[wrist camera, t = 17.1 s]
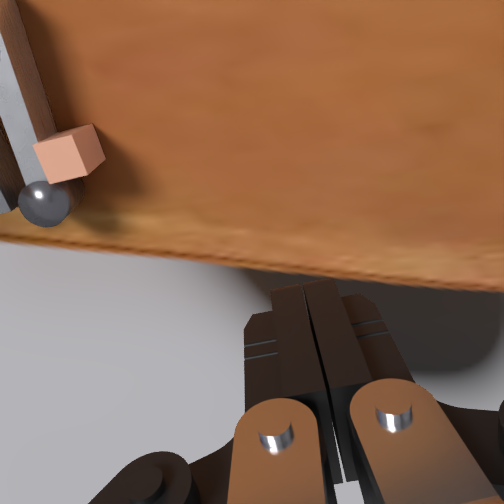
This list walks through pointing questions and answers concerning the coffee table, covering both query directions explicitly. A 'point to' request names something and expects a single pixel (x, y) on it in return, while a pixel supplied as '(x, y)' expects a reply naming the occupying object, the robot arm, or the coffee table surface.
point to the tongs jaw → (9, 178)
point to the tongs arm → (30, 124)
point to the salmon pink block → (69, 153)
